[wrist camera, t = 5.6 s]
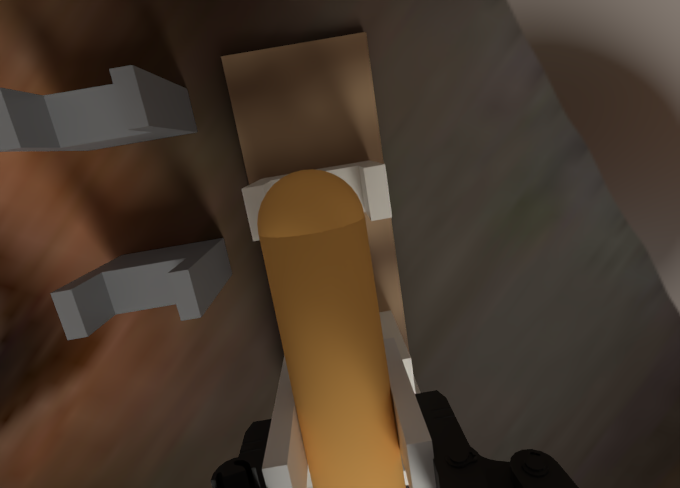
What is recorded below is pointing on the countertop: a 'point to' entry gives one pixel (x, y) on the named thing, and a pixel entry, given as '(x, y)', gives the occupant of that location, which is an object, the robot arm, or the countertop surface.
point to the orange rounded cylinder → (331, 329)
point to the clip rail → (314, 126)
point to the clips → (376, 203)
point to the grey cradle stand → (102, 132)
